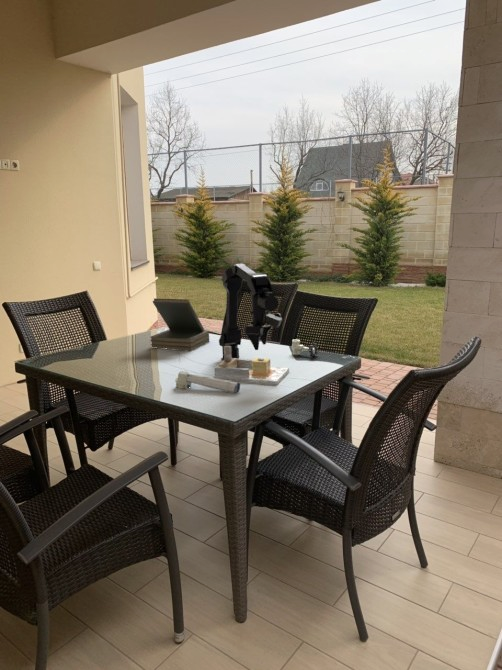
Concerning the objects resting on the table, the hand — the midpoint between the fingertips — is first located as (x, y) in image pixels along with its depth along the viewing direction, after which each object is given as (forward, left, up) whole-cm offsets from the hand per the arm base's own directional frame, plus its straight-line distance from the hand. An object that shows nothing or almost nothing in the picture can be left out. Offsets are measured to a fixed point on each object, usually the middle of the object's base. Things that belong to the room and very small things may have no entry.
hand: (260, 347), depth 190 cm
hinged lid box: (-57, +40, -12) cm, 71 cm away
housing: (0, 0, -10) cm, 10 cm away
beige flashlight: (-15, -20, -12) cm, 28 cm away
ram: (-14, 0, -10) cm, 17 cm away
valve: (+8, +35, -12) cm, 38 cm away
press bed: (-4, 0, -12) cm, 13 cm away
